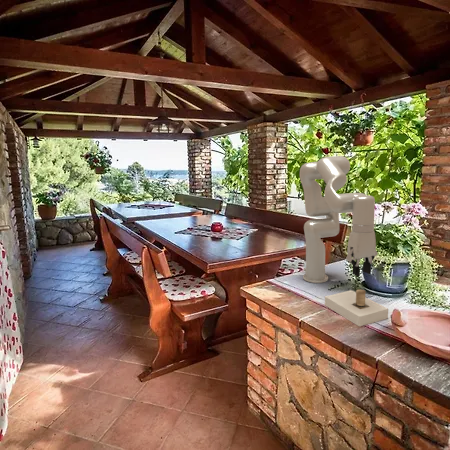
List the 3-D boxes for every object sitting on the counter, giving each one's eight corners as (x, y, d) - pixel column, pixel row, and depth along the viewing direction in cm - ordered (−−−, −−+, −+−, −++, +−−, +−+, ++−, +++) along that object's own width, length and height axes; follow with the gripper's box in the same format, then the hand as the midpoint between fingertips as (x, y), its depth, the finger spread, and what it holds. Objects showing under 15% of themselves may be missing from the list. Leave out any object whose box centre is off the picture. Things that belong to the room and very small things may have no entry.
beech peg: (353, 313, 130) (354, 290, 128) (360, 311, 131) (361, 288, 129) (359, 317, 126) (360, 293, 124) (366, 315, 128) (367, 291, 126)
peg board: (324, 305, 138) (324, 296, 137) (350, 298, 143) (351, 290, 142) (359, 326, 120) (359, 316, 119) (387, 318, 125) (388, 308, 124)
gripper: (372, 223, 128) (370, 267, 131) (337, 229, 122) (337, 274, 126) (388, 227, 121) (385, 273, 124) (352, 233, 115) (350, 281, 119)
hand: (361, 273), depth 125 cm, fingers open, 4 cm apart
